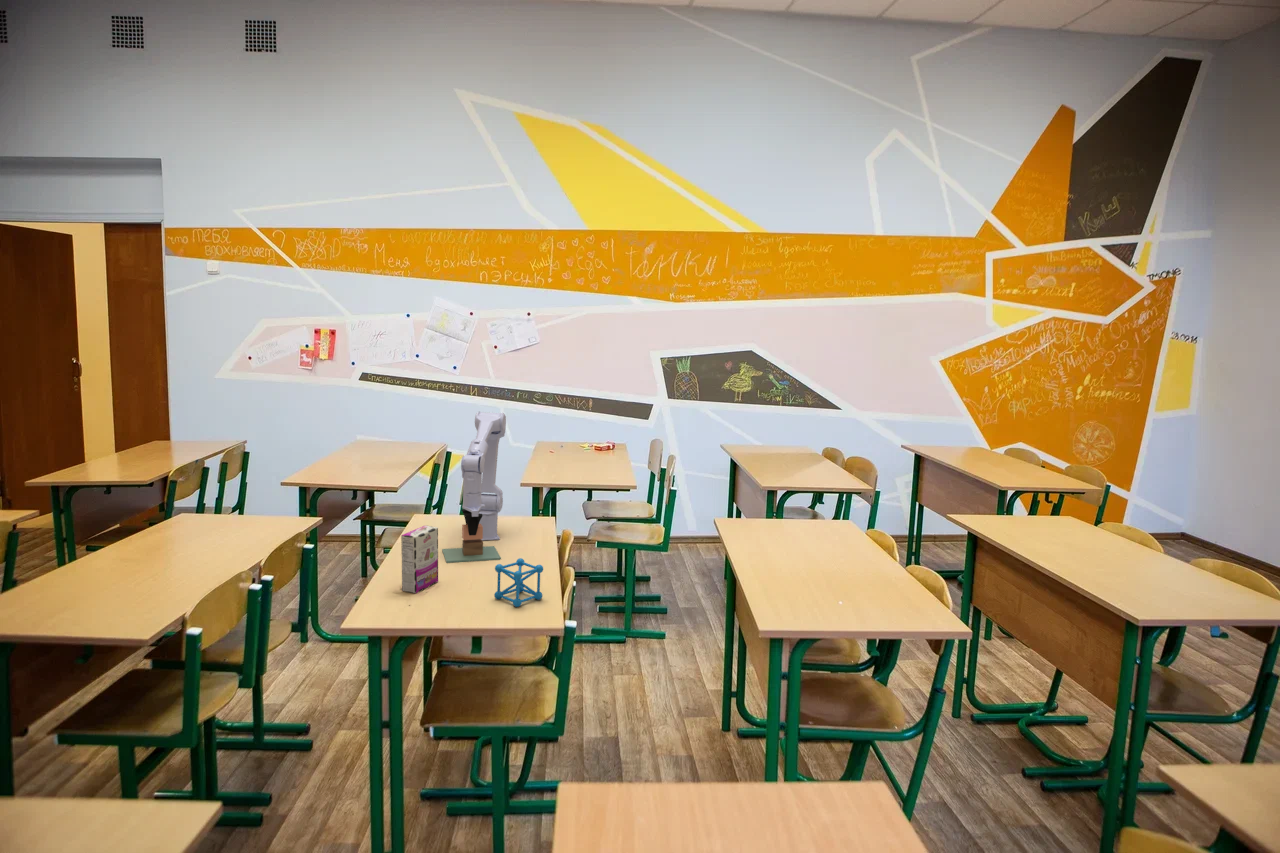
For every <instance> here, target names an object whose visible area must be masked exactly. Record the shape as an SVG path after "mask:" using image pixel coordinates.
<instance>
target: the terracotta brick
mask: <svg viewBox="0 0 1280 853" xmlns="http://www.w3.org/2000/svg"><path fill="white" fill-rule="evenodd" d="M461 525H462V526H461V538H462V539H463V540H475V539H483V526H482V525H481V524H479V525H478V529H477V533H476V535H469V532H468V525H467V524H466V523H465V524H461Z"/></svg>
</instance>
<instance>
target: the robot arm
mask: <svg viewBox="0 0 1280 853" xmlns="http://www.w3.org/2000/svg"><path fill="white" fill-rule="evenodd" d="M506 426H507V418H506V414H505V413H504V412H490V411H489V412H487V411H477V412H476V414H475V416H474V427H475V428H476V429H475V430H476V431H477V432H476V436H475V438H474V439H472V441H471V442H470V444H469V447H468V450H467V452H466V454H465V455H463V456H462V458H461V462H460V469H461V477H462V479H463V480H462V481H463V482H462V483H463V485H462V487H463V489H462V492H463V493H462V507H461V508H462V509H461V512H462V514H463V517H464V520H465V521H464V522H465V525H466V524H467V525H468V532H469V535H476V533H477V529H478V525H479V524H481V525H482V526H483V539H481V540H482V541H495V540H500V539H501V537H500V536H499V535H498V516H499V515H498V513H500V512H501V511H502V509H503V505H504V503H503V502H504V500H503V493H504V492H503V491H502V489H501V488H500V487H498V485H496V478H497V467H498V456H499V455H498V454H499V444H500V439H502V438H503V437H504V438H505V434H506Z"/></svg>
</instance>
